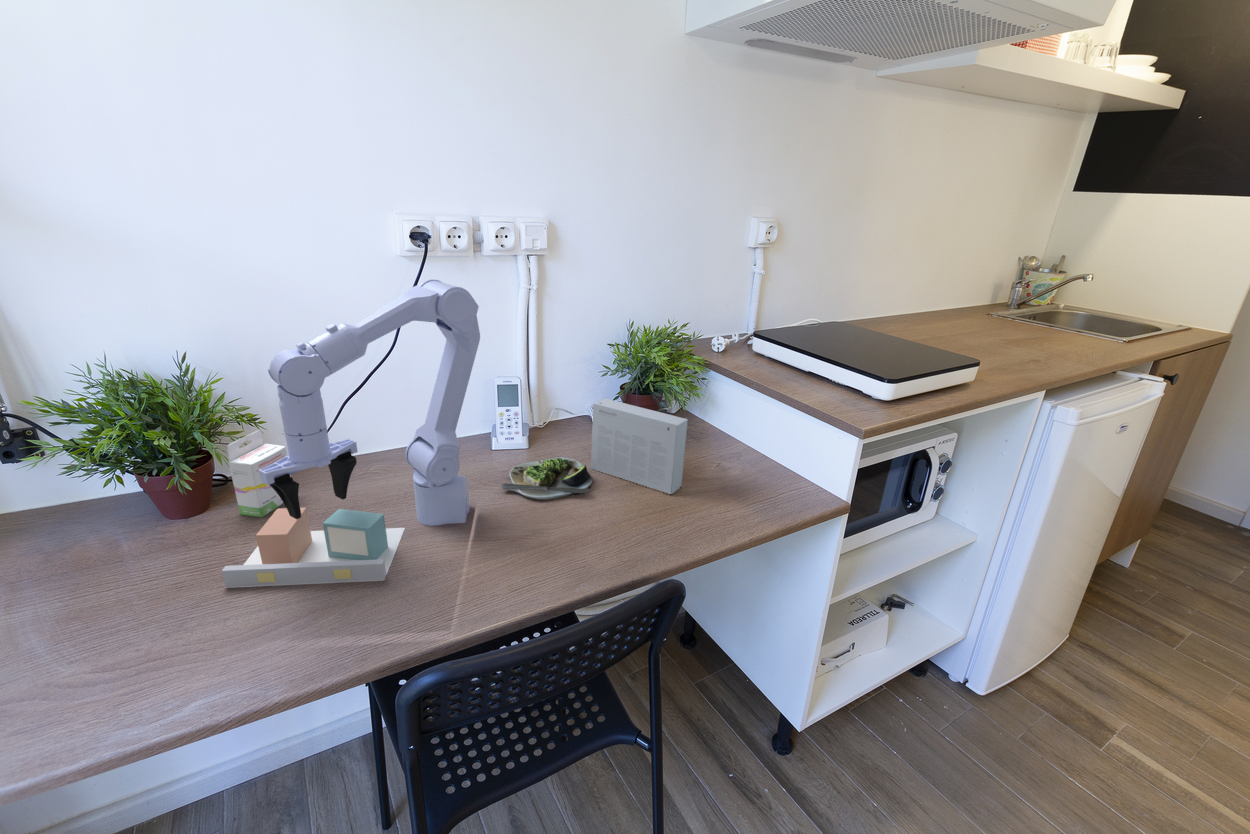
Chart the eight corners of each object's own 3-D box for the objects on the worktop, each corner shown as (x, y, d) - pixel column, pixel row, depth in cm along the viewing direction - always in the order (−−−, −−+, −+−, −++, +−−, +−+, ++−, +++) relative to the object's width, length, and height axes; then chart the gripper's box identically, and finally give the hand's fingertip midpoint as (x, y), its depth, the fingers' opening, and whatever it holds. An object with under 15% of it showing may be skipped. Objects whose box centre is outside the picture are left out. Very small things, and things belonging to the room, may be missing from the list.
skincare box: (683, 486, 126) (689, 418, 120) (671, 496, 122) (677, 426, 116) (603, 460, 136) (605, 396, 130) (589, 468, 132) (590, 403, 126)
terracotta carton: (312, 540, 100) (306, 507, 98) (294, 568, 93) (286, 534, 91) (283, 541, 100) (276, 508, 97) (262, 570, 92) (254, 535, 90)
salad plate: (510, 513, 114) (509, 492, 112) (491, 473, 129) (490, 454, 127) (602, 497, 121) (603, 477, 119) (574, 461, 136) (575, 443, 134)
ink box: (263, 522, 107) (247, 449, 101) (240, 518, 107) (222, 446, 102) (297, 499, 115) (283, 430, 109) (275, 496, 115) (260, 427, 110)
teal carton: (344, 541, 100) (339, 508, 98) (388, 546, 100) (383, 513, 97) (328, 557, 96) (322, 523, 94) (373, 562, 95) (368, 529, 93)
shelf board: (405, 532, 105) (403, 513, 104) (384, 585, 92) (382, 564, 90) (269, 537, 102) (265, 517, 101) (226, 593, 88) (220, 571, 87)
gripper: (271, 451, 81) (287, 534, 86) (364, 421, 92) (374, 496, 97) (245, 438, 84) (262, 519, 89) (338, 410, 96) (348, 483, 101)
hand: (318, 506), depth 94 cm, fingers open, 7 cm apart
